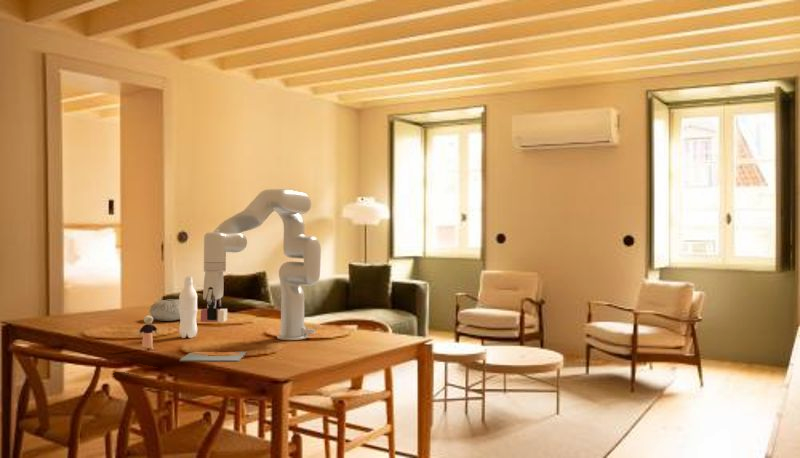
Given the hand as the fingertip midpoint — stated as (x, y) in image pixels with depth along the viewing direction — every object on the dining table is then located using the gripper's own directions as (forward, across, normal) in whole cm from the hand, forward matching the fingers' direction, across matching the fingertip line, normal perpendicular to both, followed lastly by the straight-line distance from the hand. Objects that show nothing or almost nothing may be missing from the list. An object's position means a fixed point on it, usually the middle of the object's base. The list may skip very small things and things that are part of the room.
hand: (214, 318), depth 228 cm
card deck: (+1, 0, 0) cm, 1 cm away
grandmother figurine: (+14, -13, -28) cm, 34 cm away
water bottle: (+14, -38, -21) cm, 46 cm away
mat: (+14, 0, 0) cm, 14 cm away
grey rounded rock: (+14, -83, -44) cm, 95 cm away
